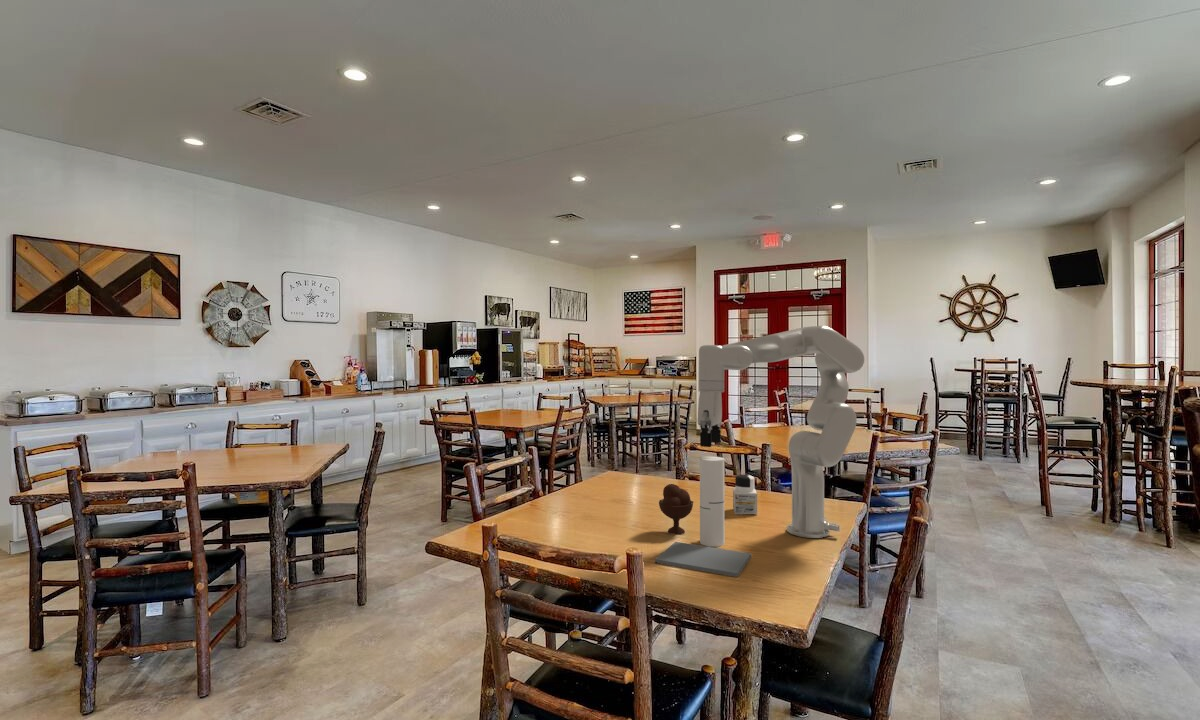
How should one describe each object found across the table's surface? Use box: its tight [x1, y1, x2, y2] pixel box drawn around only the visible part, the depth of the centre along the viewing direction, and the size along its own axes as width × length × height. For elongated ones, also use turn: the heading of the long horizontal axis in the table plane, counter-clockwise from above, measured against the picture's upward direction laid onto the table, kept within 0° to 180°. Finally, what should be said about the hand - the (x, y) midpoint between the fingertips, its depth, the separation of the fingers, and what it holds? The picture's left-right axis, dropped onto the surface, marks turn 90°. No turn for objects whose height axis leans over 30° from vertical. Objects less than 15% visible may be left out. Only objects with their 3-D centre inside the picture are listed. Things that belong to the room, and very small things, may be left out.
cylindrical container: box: [699, 455, 726, 548], centre depth 167 cm, size 7×7×25 cm
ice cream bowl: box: [658, 483, 694, 536], centre depth 177 cm, size 11×11×15 cm
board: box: [654, 541, 752, 578], centre depth 153 cm, size 22×16×1 cm
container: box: [732, 474, 758, 515], centre depth 200 cm, size 8×8×13 cm
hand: (710, 444), depth 167 cm, fingers open, 9 cm apart
